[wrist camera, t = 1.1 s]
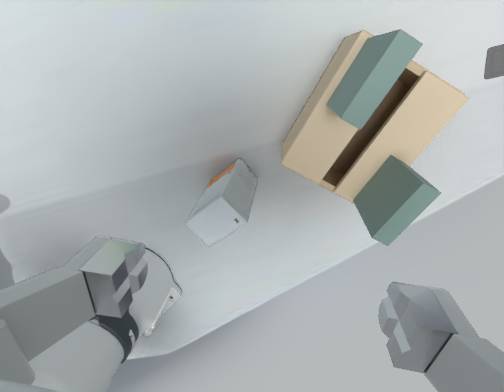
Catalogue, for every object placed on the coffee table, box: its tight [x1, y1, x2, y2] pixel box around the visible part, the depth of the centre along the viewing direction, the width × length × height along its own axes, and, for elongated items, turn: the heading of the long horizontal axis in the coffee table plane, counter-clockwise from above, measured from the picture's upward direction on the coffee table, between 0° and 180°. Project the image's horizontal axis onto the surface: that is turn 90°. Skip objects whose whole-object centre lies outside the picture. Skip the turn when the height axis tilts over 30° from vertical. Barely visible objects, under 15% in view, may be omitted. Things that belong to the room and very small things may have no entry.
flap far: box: [333, 71, 469, 246], centre depth 23 cm, size 14×5×8 cm, turn 153°
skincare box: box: [185, 158, 258, 247], centre depth 34 cm, size 6×4×12 cm
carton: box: [281, 30, 465, 193], centre depth 30 cm, size 14×11×8 cm
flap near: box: [281, 29, 423, 184], centre depth 22 cm, size 14×5×8 cm, turn 153°
